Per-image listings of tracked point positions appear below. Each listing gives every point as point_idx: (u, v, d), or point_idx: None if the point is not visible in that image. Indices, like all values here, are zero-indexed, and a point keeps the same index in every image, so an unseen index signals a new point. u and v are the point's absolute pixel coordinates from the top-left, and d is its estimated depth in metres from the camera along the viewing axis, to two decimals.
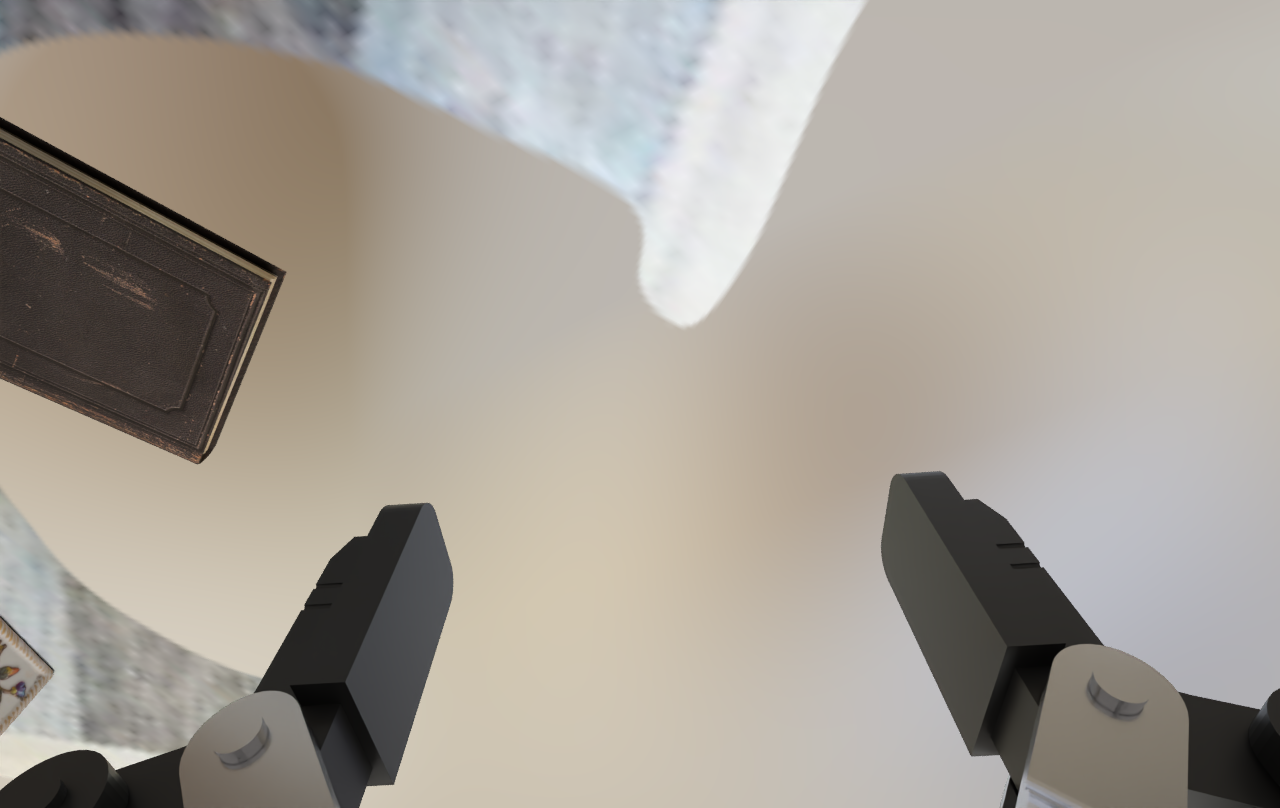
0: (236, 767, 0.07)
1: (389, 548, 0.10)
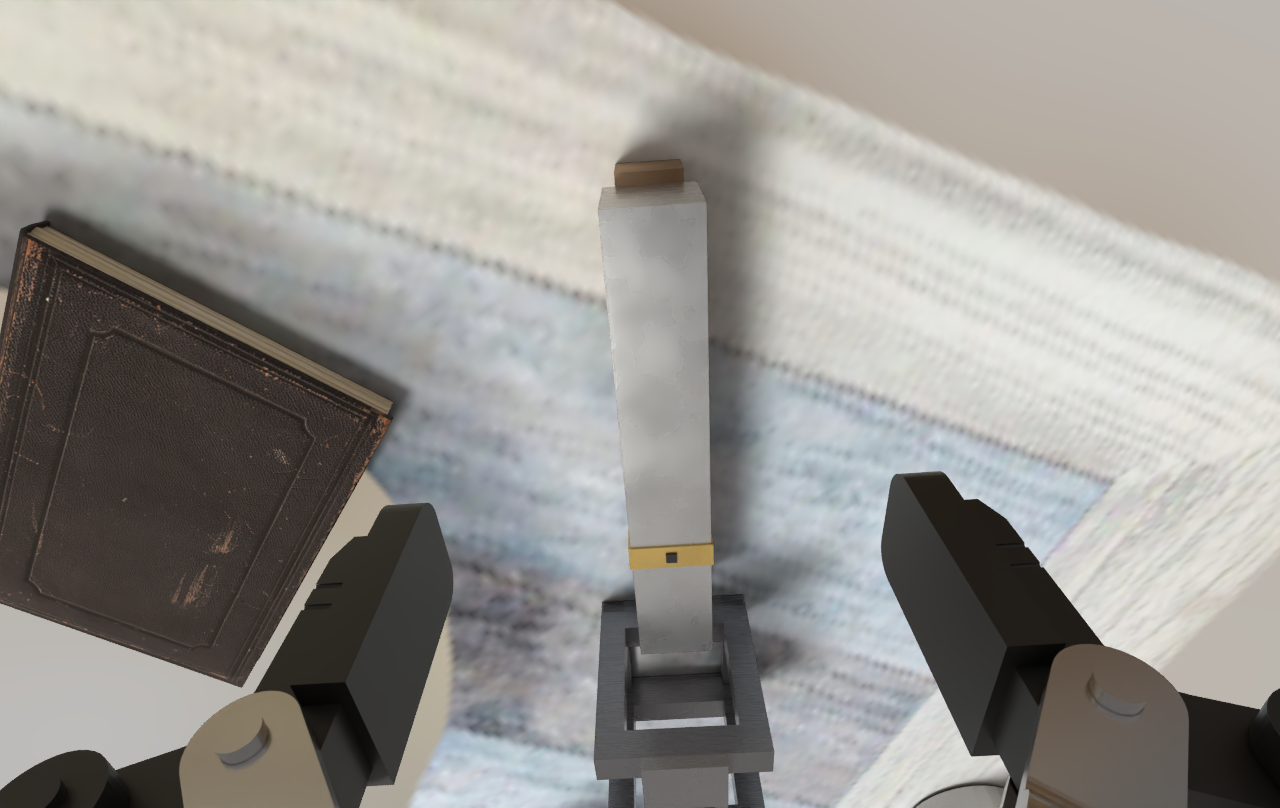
0: (236, 768, 0.07)
1: (389, 548, 0.10)
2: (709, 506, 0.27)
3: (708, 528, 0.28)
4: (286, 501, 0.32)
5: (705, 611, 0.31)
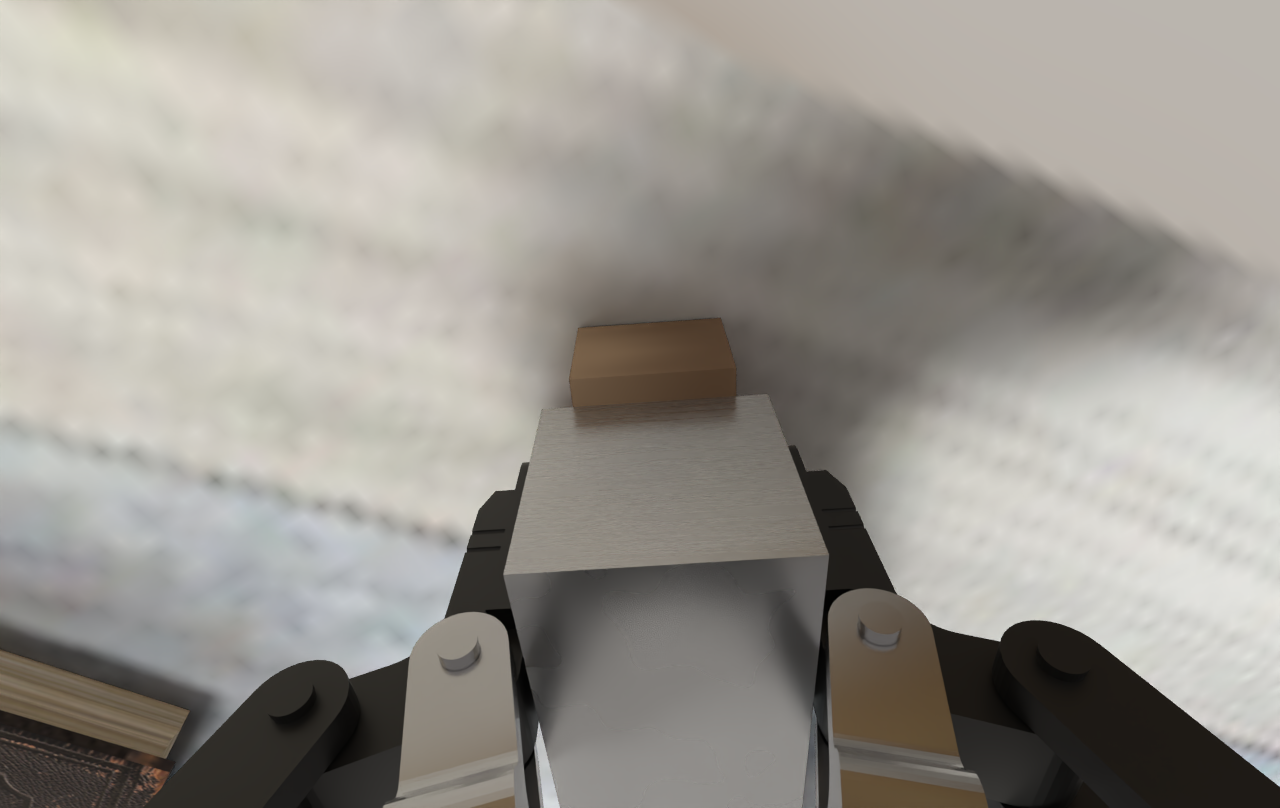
0: (463, 673, 0.08)
1: None
2: None
3: None
4: None
5: None
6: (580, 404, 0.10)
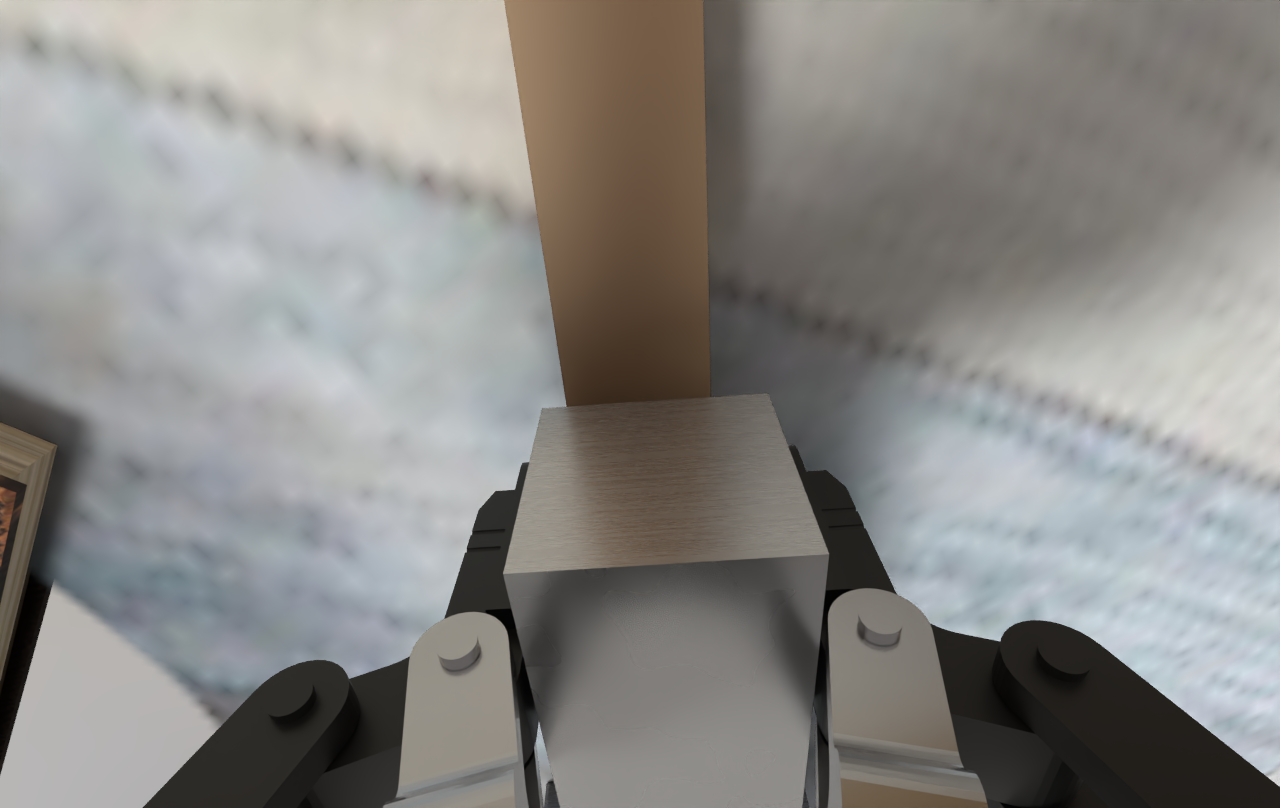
0: (463, 673, 0.08)
1: None
2: None
3: None
4: None
5: None
6: None
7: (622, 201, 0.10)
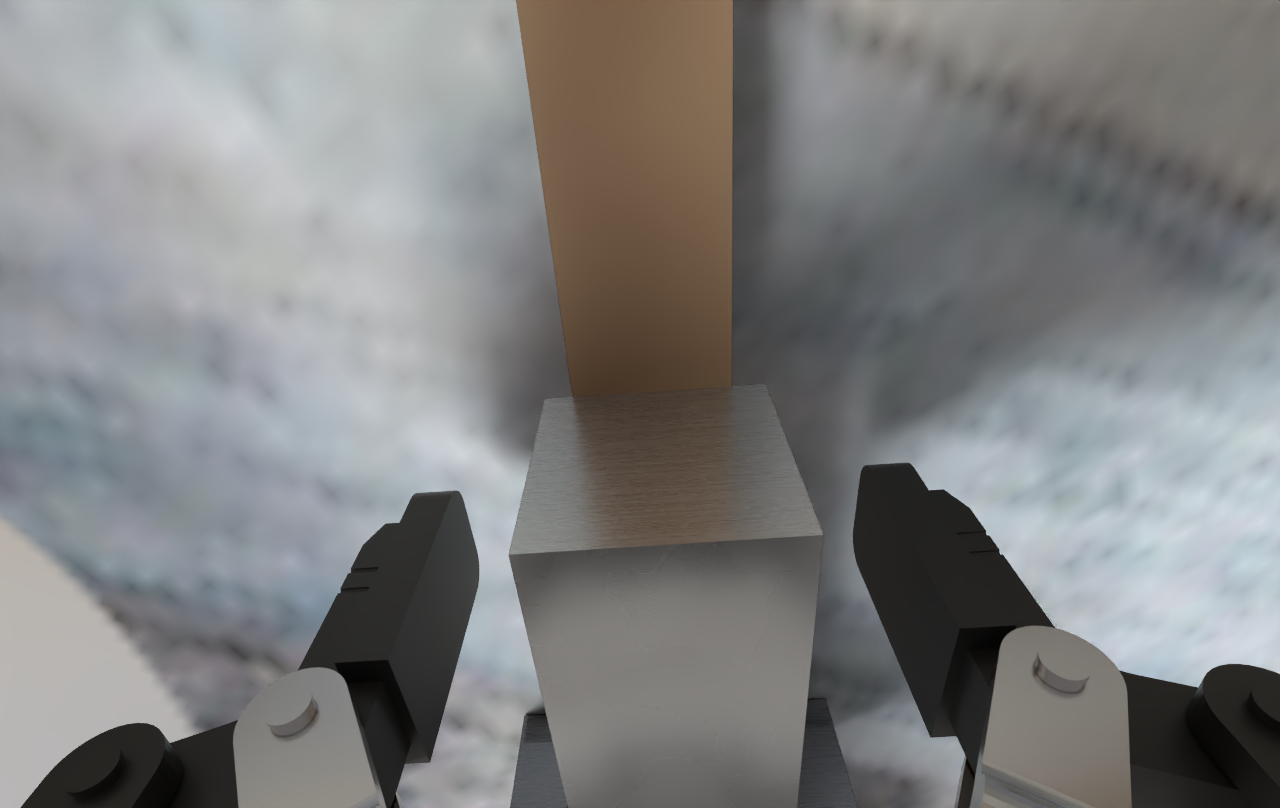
0: (289, 739, 0.07)
1: (422, 533, 0.10)
2: None
3: None
4: None
5: None
6: None
7: None
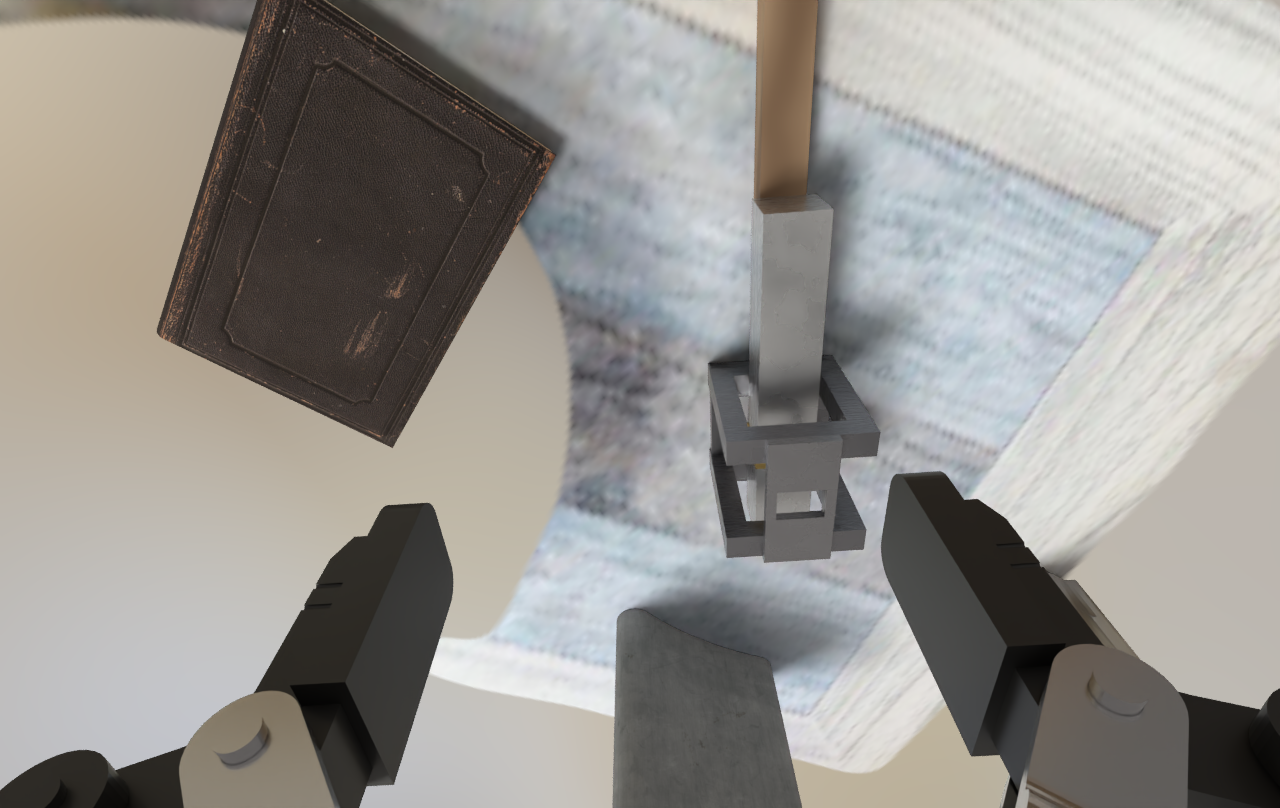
0: (237, 767, 0.07)
1: (389, 548, 0.10)
2: (815, 420, 0.39)
3: None
4: (456, 241, 0.37)
5: (805, 502, 0.42)
6: None
7: (790, 34, 0.32)
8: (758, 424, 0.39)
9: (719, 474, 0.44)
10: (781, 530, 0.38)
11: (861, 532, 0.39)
